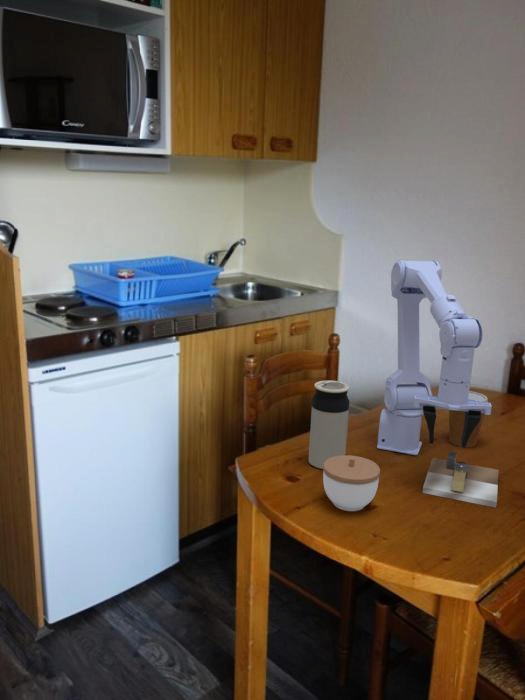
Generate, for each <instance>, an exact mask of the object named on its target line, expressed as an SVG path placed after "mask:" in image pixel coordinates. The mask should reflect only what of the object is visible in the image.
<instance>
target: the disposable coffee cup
mask: <svg viewBox="0 0 525 700" xmlns="http://www.w3.org/2000/svg"><path fill="white" fill-rule="evenodd" d="M468 399H471V400H476V401H481V402H487V403H489V402H488V397H487V395H484V394H483V393H480V392H476V391H472V390H469V396H468ZM448 417H449V418H448V419H449V420H448V426H449V429H448V430H449V431H448V432H449V434H448V435H449V438H448V440H449V443H450V444H452V445H454V446H458V447H461V448H463V447H462V445H461V440H462V434H463V429H464V420H465V411H456V410H448ZM484 417H485V414H484V413H481V420H480V422H479V423H478V425H477V426H476V427H475V429H474V430H473V432H472V433H471V435H470V437H469V440H468V442H467V445H466V448H472V447H476V445H477V443H478V439H479V435H480V431H481V428H482V424H483V421H484Z"/></svg>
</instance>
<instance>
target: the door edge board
mask: <svg viewBox="0 0 525 700" xmlns="http://www.w3.org/2000/svg"><path fill="white" fill-rule="evenodd" d="M467 464H468V463H467ZM446 465H447V459H441V458H435V457H432V458H431V462H430V465H429V467H428V471H427V474H426V477H425V481H424V484H423V486H422V494H427V495H432V496H435V497H436V496H437V497H441V498H446V499H451V500H457V501H462V502H465V503H466V502H467V503H470V504H475V505H480V506H487V507H491V508H497V504H498V489H499V488H498V487H499V486H498V485H499V473H500V471H499V469H496V468H490V467H485V466H479V465H474V464H468V465H469V466H468V474H467V478H466V479H465V483H464V489H463V492H459V491H454V490H451V489H452V481H453V471H454V470H450V469H446Z"/></svg>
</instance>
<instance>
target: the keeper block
mask: <svg viewBox="0 0 525 700" xmlns="http://www.w3.org/2000/svg"><path fill="white" fill-rule="evenodd" d="M446 460H447V465H446V469H450V470H454V464H455V462H457V461H456V460H457V452H456V451H452V450H451V451H450V450H449V451H448V455H447V459H446Z"/></svg>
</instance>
